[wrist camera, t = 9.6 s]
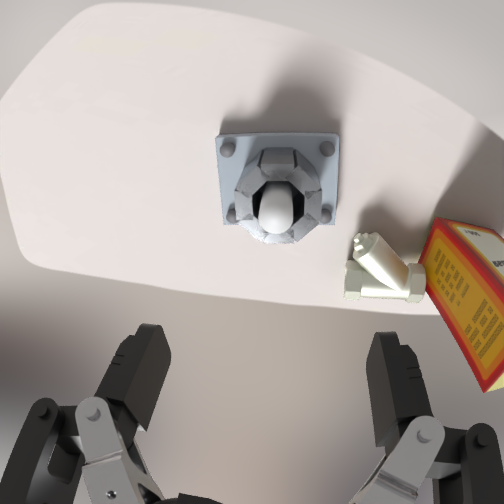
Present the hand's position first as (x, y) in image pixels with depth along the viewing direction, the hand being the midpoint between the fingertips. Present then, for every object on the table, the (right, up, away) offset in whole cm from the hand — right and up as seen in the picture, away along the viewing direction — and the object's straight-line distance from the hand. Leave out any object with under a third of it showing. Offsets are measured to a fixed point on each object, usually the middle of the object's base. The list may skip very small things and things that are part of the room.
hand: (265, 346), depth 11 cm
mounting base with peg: (+2, +10, +16) cm, 19 cm away
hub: (+2, +9, +14) cm, 17 cm away
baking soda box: (+21, +4, +17) cm, 28 cm away
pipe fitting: (+13, +3, +18) cm, 23 cm away
